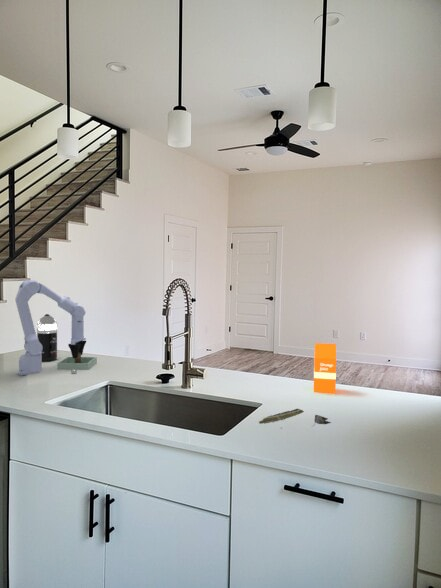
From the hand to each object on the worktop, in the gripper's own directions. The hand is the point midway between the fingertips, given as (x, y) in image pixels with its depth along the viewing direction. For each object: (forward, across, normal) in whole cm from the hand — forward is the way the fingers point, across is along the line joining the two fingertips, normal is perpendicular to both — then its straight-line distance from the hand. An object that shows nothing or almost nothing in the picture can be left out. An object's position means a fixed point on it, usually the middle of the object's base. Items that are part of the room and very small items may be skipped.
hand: (77, 356), depth 213 cm
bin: (+6, 0, 0) cm, 6 cm away
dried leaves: (+6, -75, -95) cm, 121 cm away
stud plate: (+6, -15, -3) cm, 16 cm away
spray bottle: (+6, +18, +22) cm, 29 cm away
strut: (+5, 0, 0) cm, 5 cm away
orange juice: (+6, -36, -115) cm, 121 cm away
